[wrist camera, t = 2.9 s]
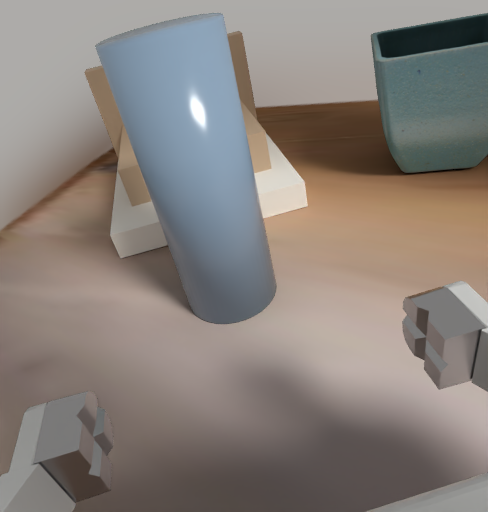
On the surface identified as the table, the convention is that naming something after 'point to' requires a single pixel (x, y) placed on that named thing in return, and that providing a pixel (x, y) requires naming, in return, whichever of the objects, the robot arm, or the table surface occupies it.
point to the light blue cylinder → (195, 159)
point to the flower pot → (434, 93)
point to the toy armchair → (133, 185)
